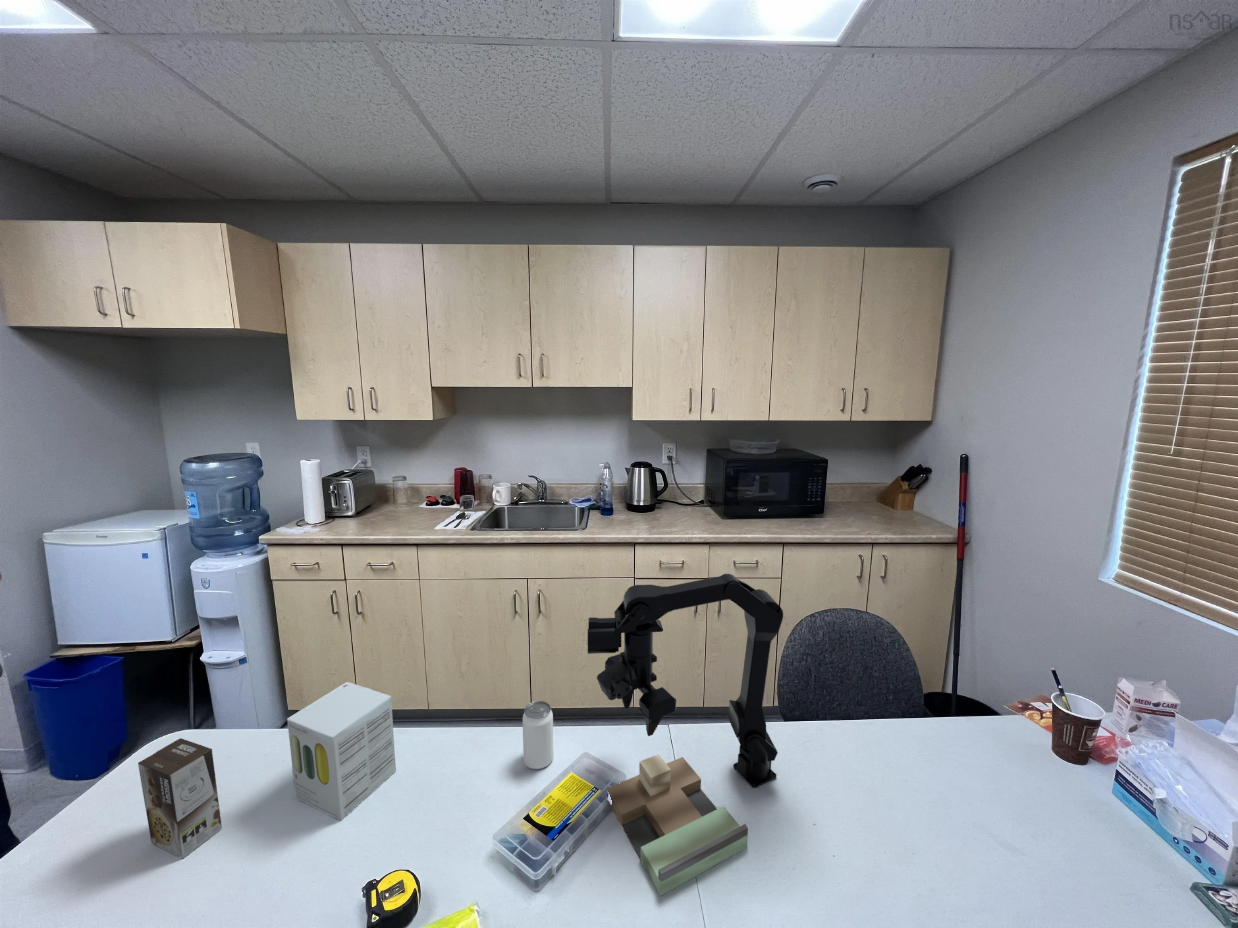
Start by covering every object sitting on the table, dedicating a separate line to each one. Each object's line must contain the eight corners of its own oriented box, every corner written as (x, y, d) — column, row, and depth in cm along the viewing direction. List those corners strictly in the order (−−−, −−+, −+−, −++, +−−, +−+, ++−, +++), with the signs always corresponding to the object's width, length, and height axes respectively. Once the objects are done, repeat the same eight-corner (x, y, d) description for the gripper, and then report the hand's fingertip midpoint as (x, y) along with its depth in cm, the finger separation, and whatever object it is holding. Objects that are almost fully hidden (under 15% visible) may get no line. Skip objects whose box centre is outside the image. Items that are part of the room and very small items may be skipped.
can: (547, 772, 98) (546, 721, 96) (518, 767, 99) (517, 716, 97) (557, 750, 104) (556, 701, 102) (530, 745, 105) (529, 697, 103)
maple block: (658, 771, 95) (658, 753, 95) (670, 787, 91) (670, 769, 91) (639, 779, 93) (639, 761, 93) (650, 796, 89) (651, 777, 89)
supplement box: (292, 799, 91) (284, 718, 88) (353, 752, 103) (347, 679, 101) (340, 822, 86) (332, 737, 84) (397, 770, 98) (392, 694, 96)
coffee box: (224, 827, 85) (214, 748, 83) (181, 860, 79) (169, 775, 77) (192, 812, 88) (181, 735, 85) (148, 843, 82) (136, 761, 79)
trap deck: (606, 799, 91) (606, 781, 91) (682, 767, 99) (682, 750, 99) (660, 895, 74) (661, 873, 73) (747, 847, 82) (748, 827, 81)
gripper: (582, 638, 97) (583, 706, 99) (626, 687, 81) (626, 767, 83) (628, 626, 102) (628, 691, 104) (678, 669, 86) (677, 745, 88)
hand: (638, 720), depth 95 cm, fingers open, 9 cm apart
